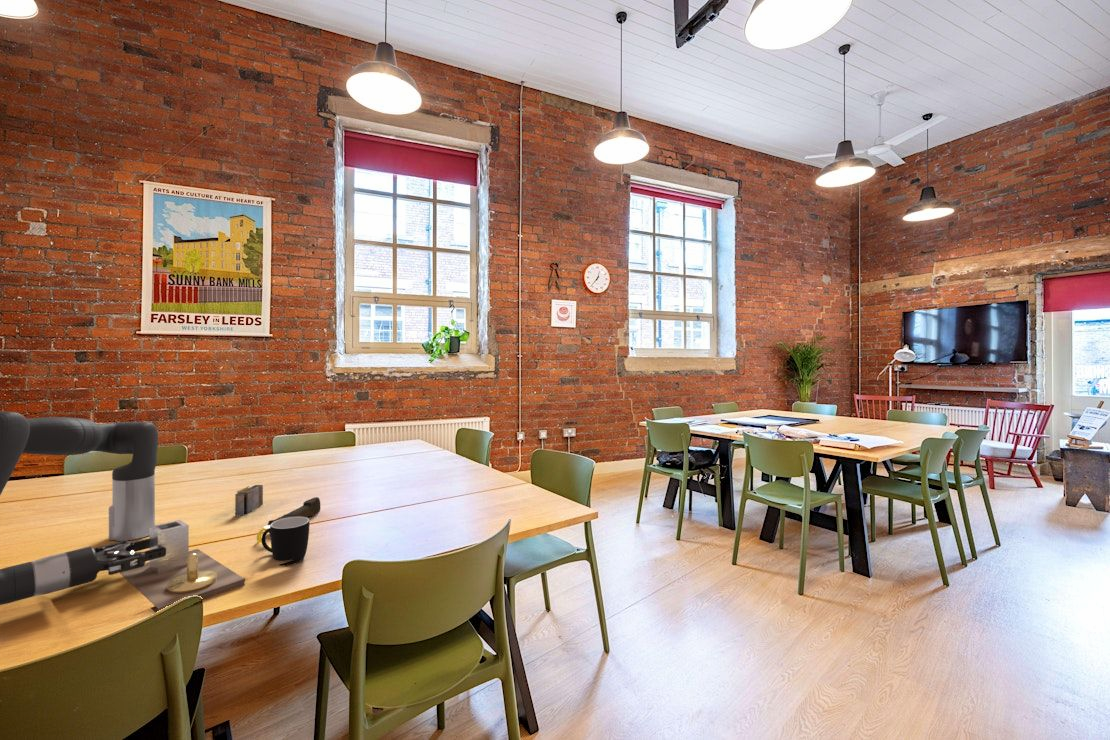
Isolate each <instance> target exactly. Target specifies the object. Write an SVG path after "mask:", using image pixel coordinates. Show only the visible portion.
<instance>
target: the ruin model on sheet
mask: <svg viewBox="0 0 1110 740" xmlns="http://www.w3.org/2000/svg"><path fill="white" fill-rule="evenodd" d="M263 496H264V485H263V484H254V485H252V486H249V485H248V486H246V487H245V488H242V489H240V490H237V491H236V493H235V497H234V499H235V500H234V502H235V504H234V505H235V512H234V514H235V515H238V516H237V517H244V516H245V512H246V513H248V514H249V513H251V512H252V511H255V510H257V509H258V508H260V507H262V506H264V497H263ZM261 505H262V506H261ZM254 509H255V510H254ZM250 511H251V512H250ZM235 515H234V516H235ZM239 515H240V516H239ZM243 515H244V516H243Z"/></svg>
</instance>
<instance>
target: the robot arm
mask: <svg viewBox="0 0 1110 740" xmlns="http://www.w3.org/2000/svg"><path fill="white" fill-rule="evenodd" d="M158 447H159V431H158V428H157V426H156V425H155V424H154V423H153V422H150V421H122V422H121V421H120V422H111V423H96V422H95V421H93V420H90V419H87V418H80V417H70V416H68V417H67V416H52V417H51V416H47V417H28V418H26V416H24V415H23V414H21V413H20V412H17V411H16V412H15V411H7V410H6V411H5V410H4V411H1V410H0V496H1V495H2V493H3V491H4V489H5V487H6V485H7V484H8V482H9V479H10V478H11V476H12V474H13V472H14V470H15V468H16V466H17V463H18V462H19V460H20V458H21V456H22V454H26V455H27V454H30V455H44V456H74V455H75V456H77V455H78V456H79V455H84V454H88V453H90V452H102V453H106V454H107V453H110V454H115V455H132V457H131V461H130V462H128V463H127V464H123V465H121V466H118V467H115V468H114V469H113V470H112V471H111V472H112V473H111V479H112V480H111V481H112V482H111V483H112V485H111V487H112V488H111V489H112V496H111V497H112V505H110V506H109V507H108V541H117V542H114V543H110V544H106V545H101V546H97V547H94V546H93V547H92V546H87V547H83V548H78V549H73V550H69V551H66V552H61V553H57V554H53V555H48V556H44V557H41V558H39V559H36V560H32V561H27V562H24V563H20V564H14V565H11V566H6V567H4V568H1V569H0V606H3V605H7V604H10V603H15V602H19V601H22V600H25V599H28V598H32V597H37V596H42V595H48V594H52V593H55V592H59V591H62V590H67V589H71V588H73V587H77V586H81V585H84V584H85V585H86V584H88V583H92V582H94V581H95V580H96V579H97V577H98V574H99V572H104V571H108V573H107V574H108V575H109V576H111V575H116V574H121V573H120V572H124V571H128V570H132V569H136V568H139V567H143V566H144V563H147V562H149V560H153V559H157V558H160V557H164V556H165V555H166V548H165V547H159V548H155V549H151V550H148V549H149V538H145V537H148V536H149V526H154V525H156V522H155V521H156V520H155V519H156V509H155V508H156V506H155V505H156V504H155V503H156V500H155V499H156V495H155V494H156V493H155V492H156V490H155V489H156V488H155V486H156V485H155V483H156V481H155V479H156V478H155V477H156V476H155V470H156V467H157V462H158V450H159V449H158ZM142 538H145V539H142ZM137 539H141V540H137ZM133 540H134V541H133ZM135 540H136V541H135ZM146 549H147V550H146ZM144 550H145V551H144Z"/></svg>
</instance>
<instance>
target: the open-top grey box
mask: <svg viewBox="0 0 1110 740" xmlns="http://www.w3.org/2000/svg"><path fill="white" fill-rule="evenodd" d="M189 527H190V525H189V524H188V523H186V522H184V521H182V520H181V519H177V520H172V521H167V522H164V523H159V524H155V525H154V526H149V538H148V539H149V548H148V549H149V550H151V549H155V548H159V547H165V548H166V555H165V556H164V557H160V558H157V559H153V560H149V561H148V562H150V568H151V569H152V570H154V571H155V572H156V573H157V574H160V573H163V572H166V571H170V570H173V569H177V568H180V567H184V566H187V557H188V555H189V551H190V549H189V547H190V546H189V545H190V543H189V535H190V534H189V533H190V532H189V530H190V529H189Z"/></svg>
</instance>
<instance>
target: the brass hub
mask: <svg viewBox="0 0 1110 740" xmlns="http://www.w3.org/2000/svg"><path fill="white" fill-rule="evenodd" d="M216 580H217V573H216V572H214V571H198V555H197V554H196V553H192V554H190V555H188V557H187V574H184V575H181V576H178V577H176V578H174V579H172V580H171V581H169V582H168V584H167V591H168V592H169V593H172V594H184V593H190V592H195V591H198V590H201V589H204V588H206V587H209V586H210V585H212V584H214V583H215V582H216Z"/></svg>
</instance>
